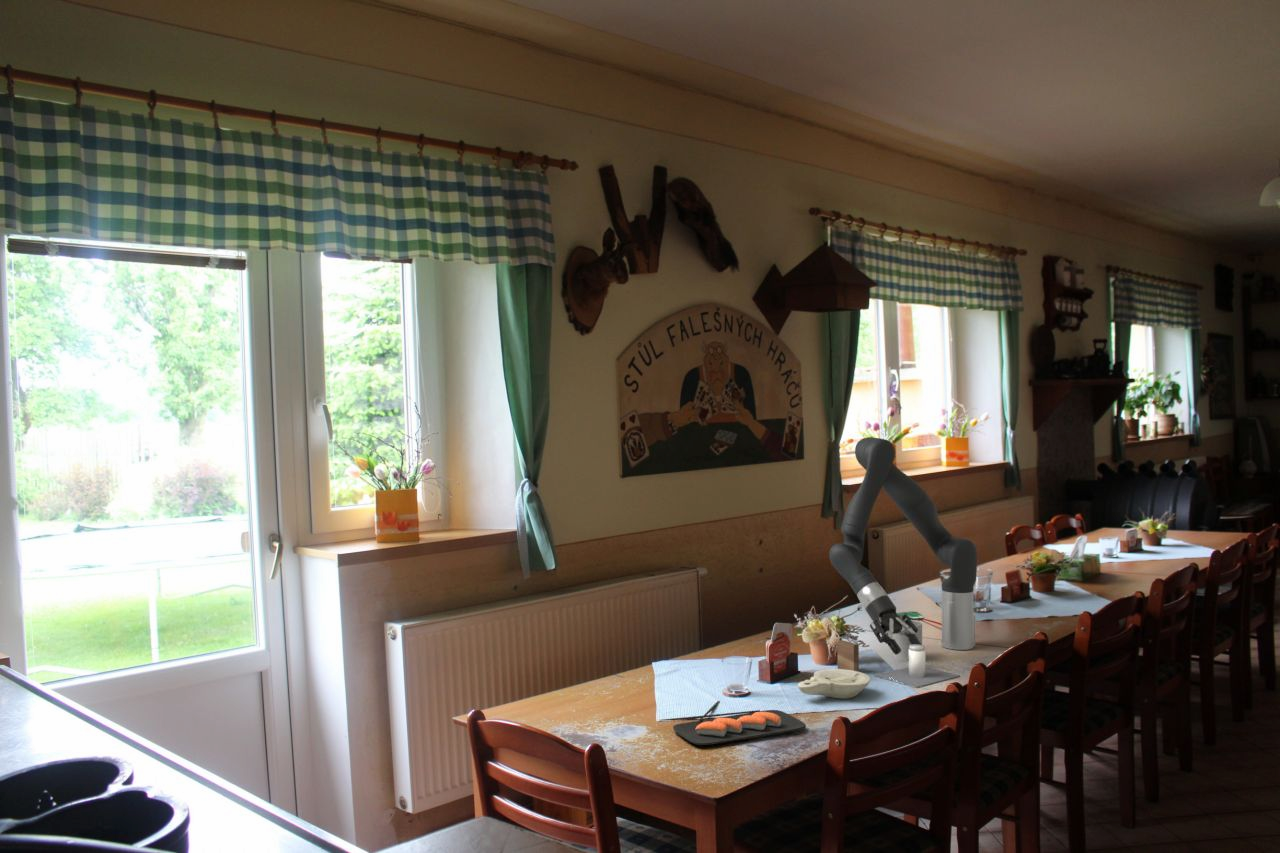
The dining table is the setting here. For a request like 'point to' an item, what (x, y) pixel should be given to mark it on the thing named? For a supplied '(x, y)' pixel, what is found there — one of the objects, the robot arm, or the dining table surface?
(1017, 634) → the dining table surface
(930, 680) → the felt mat
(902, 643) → the cup
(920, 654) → the sugar shaker
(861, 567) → the robot arm
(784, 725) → the sushi plate
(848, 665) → the brown flat rectangular block
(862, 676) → the oil lamp
